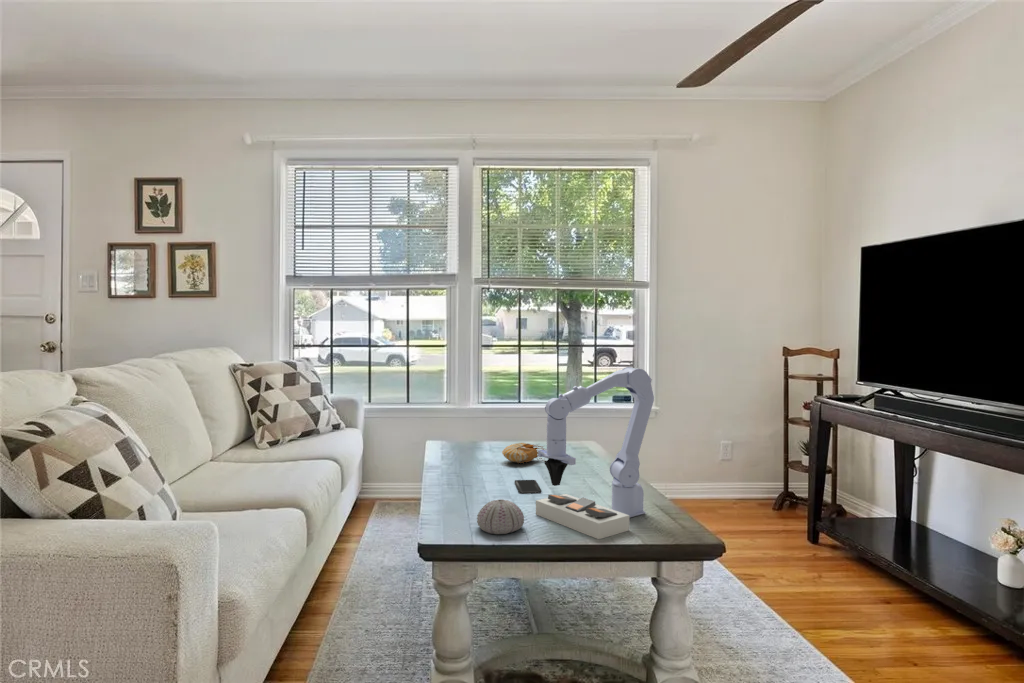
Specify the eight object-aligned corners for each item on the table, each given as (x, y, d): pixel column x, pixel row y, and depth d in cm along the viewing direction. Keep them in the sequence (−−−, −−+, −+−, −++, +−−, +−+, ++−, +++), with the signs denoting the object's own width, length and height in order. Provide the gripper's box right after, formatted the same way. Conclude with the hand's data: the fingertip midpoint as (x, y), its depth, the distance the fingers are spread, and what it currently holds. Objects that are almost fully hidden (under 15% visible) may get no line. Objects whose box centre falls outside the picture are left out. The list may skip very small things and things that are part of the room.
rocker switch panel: (565, 507, 183) (565, 493, 183) (629, 530, 162) (629, 515, 162) (535, 514, 176) (535, 500, 175) (598, 539, 155) (598, 523, 155)
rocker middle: (583, 502, 173) (582, 497, 173) (595, 506, 169) (595, 501, 169) (566, 511, 169) (565, 505, 169) (578, 515, 165) (577, 510, 165)
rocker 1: (564, 500, 179) (565, 495, 179) (575, 504, 175) (576, 499, 175) (547, 499, 175) (548, 494, 175) (558, 503, 171) (559, 498, 171)
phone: (519, 491, 198) (514, 480, 213) (519, 494, 198) (514, 483, 213) (542, 490, 199) (535, 479, 214) (542, 494, 199) (535, 482, 214)
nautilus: (546, 458, 255) (555, 468, 241) (497, 457, 251) (504, 467, 236) (547, 440, 255) (557, 449, 240) (499, 439, 250) (506, 447, 236)
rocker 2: (602, 514, 166) (603, 508, 167) (615, 518, 162) (616, 512, 163) (585, 513, 162) (586, 507, 162) (598, 518, 158) (599, 512, 158)
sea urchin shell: (476, 537, 156) (476, 507, 155) (476, 521, 169) (476, 493, 169) (526, 537, 156) (526, 507, 156) (522, 521, 170) (522, 493, 170)
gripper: (530, 436, 177) (530, 481, 177) (562, 444, 165) (562, 492, 165) (548, 434, 181) (547, 478, 181) (581, 441, 169) (580, 488, 170)
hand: (555, 484), depth 174 cm, fingers closed
